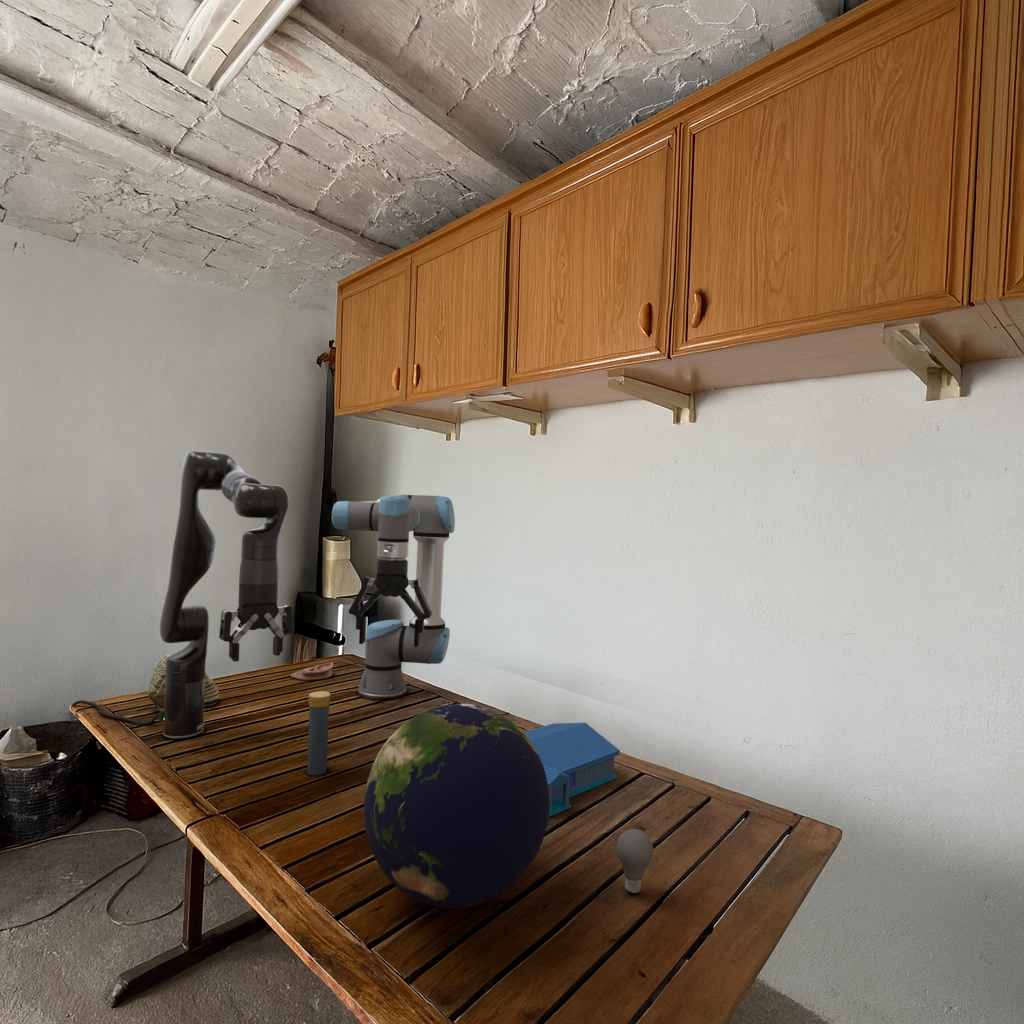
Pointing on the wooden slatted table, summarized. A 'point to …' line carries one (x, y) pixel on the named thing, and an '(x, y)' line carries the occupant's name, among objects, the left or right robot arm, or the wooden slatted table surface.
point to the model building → (572, 760)
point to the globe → (456, 806)
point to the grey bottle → (317, 740)
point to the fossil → (158, 687)
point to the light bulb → (634, 857)
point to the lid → (319, 699)
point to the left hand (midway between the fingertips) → (256, 657)
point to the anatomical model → (314, 672)
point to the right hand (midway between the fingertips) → (389, 644)
